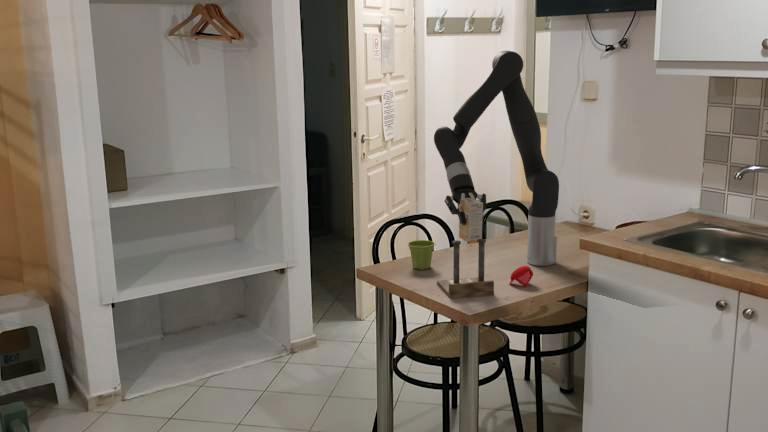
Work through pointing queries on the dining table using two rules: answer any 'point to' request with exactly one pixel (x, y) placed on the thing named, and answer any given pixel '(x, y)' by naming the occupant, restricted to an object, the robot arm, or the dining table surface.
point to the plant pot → (421, 253)
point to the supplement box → (471, 220)
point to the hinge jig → (467, 285)
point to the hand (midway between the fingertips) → (472, 223)
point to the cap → (522, 275)
